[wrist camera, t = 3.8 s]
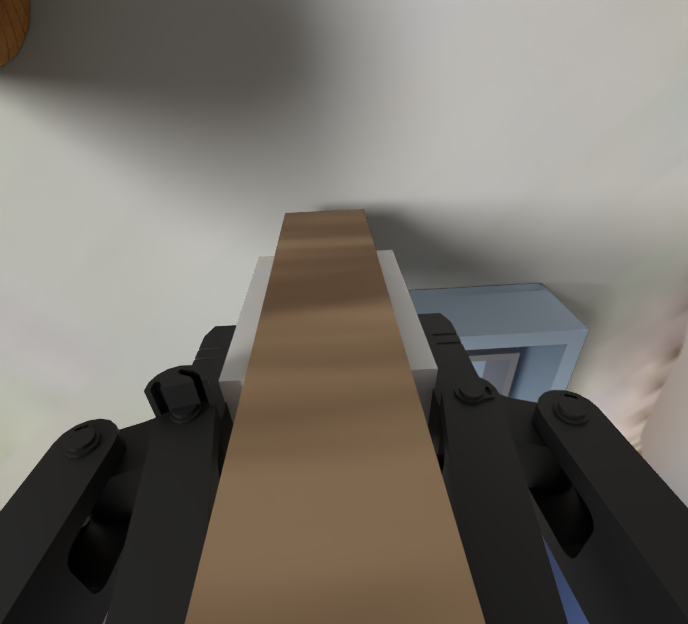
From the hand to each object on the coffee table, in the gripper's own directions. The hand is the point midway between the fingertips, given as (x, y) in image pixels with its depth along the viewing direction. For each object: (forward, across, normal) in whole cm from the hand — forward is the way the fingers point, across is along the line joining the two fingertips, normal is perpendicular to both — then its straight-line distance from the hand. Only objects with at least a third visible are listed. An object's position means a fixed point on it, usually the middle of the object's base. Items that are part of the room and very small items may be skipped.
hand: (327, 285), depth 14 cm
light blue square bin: (+5, +7, -8) cm, 12 cm away
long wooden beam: (+4, 0, 0) cm, 4 cm away
